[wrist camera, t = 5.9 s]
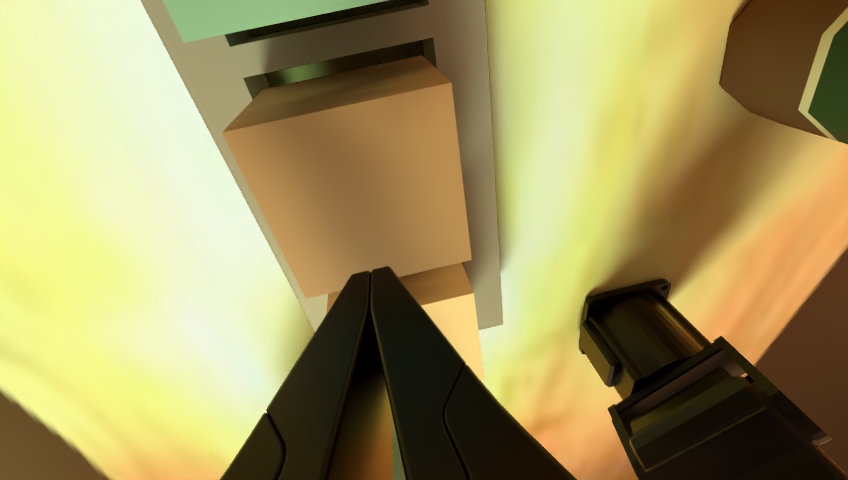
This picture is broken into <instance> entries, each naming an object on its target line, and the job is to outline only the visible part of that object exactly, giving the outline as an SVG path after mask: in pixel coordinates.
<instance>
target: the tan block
mask: <svg viewBox="0 0 848 480" xmlns="http://www.w3.org/2000/svg"><path fill="white" fill-rule="evenodd" d="M222 134H223V136H224V138H225V140H226V142H227V144H228V146H229V148H230V150H231V152H232V154H233V156H234V158H235V160H236V162H237V164H238V166H239V168H240V170H241V172H242V174H243V176H244V178H245V179H246V181H247V183H248V185H249V187H250V189H251V191H252V193H253V195H254V197H255V199H256V201H257V203H258V205H259V207H260V209H261V211H262V213H263V215H264V217H265V219H266V221H267V223H268V225H269V227H270V229H271V231H272V233H273V235H274V237H275V239H276V241H277V243H278V245H279V247H280V249H281V251H282V253H283V255H284V257H285V259H286V261H287V263H288V264H289V266H290V268H291V270H292V272H293V274H294V276H295V278H296V280H297V282H298V284H299V286H300V288H301V290H302V292H303V294H304V296H305V298H306V299H307V298H312V297H316V296H320V295H324V294H329V293H333V292H337V291H341V290H342V289H343V287H344V285H345V284H346V282H347V281H348V279H349V278H350V276H351V275H352V274H354V273H359V272H363V271H370V272H371V271H372V270H373V269H376V268H381V267H385V266H389V267H391V268H392V270H393V271H394V272H395V273H396V275H397V276H398V277H401V276H405V275H410V274H414V273H418V272H422V271H427V270H431V269H435V268H440V267H444V266H448V265H452V264H457V263H461V262H465V261H469V260H472V257H471V248H470V239H469V231H468V222H467V213H466V204H465V196H464V187H463V178H462V170H461V161H460V152H459V143H458V135H457V126H456V117H455V109H454V100H453V91H452V83H451V82H450V81H449V80H448V79H447V78H446V77H445V76H444V75H443V74H442V73H441V72H440V71H438V70H437V69H436V68H435V67H434V66H433V65H432V64H431V63H430V62H429V61H428V60H427V59H426V58H424V57H423V56H422V55H421V56H417V57H412V58H407V59H403V60H398V61H393V62H389V63H384V64H379V65H375V66H370V67H365V68H361V69H356V70H351V71H347V72H342V73H337V74H333V75H328V76H323V77H319V78H314V79H309V80H305V81H300V82H295V83H291V84H286V85H281V86H277V87H272V88H267V89H263V90H262V91H261V92H260V93H259V94H258V95H257V96H256V97H255V98H254V99H253V100H252V101H251V102H250V103H249V104H248V105H247V107H246V108H245V109H244V110H243V111H242V112H241V113H240V114H239V115H238V116H237V117H236V118H235V119H234V120H233V121H232V122H231V123H230V124H229V125H228V126H227V128H226V129H225V130H224V131H223V132H222Z"/></svg>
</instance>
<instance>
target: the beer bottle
mask: <svg viewBox="0 0 848 480" xmlns="http://www.w3.org/2000/svg"><path fill="white" fill-rule="evenodd" d="M719 84H720V86H721V87H722V88H723V89H724V90H725V91H726V92H727V93H729V94H730V95H731V96H732V97H733V98H735V99H736V100H737V101H738V102H739V103H741V104H742V105H743V106H744V107H745V108H747V109H748V110H749V111H750V112H752V113H754V114H757V115H759V116H762V117H765V118H767V119H770V120H772V121H775V122H778V123H780V124H784V125H787V126H790V127H793V128H797V129H800V130H803V131H806V132H810V133H813V134H816V135H819V136H823V137H826V138H829V139H832V140H836V141H839V142H842V143H845V144H848V0H751V1H750V2H749V3H748V5H747V6H746V7H745V8H744V10H743V11H742V12H741V13H740V15H739V16H738V17H737V18H736V20H735V21H734V22H733V23H732V24H731V26H730V28H729V33H728V39H727V44H726V50H725V55H724V61H723V66H722V72H721V77H720V83H719Z"/></svg>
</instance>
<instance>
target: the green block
mask: <svg viewBox="0 0 848 480" xmlns="http://www.w3.org/2000/svg"><path fill="white" fill-rule="evenodd" d="M383 1H388V0H163V2H164V4H165V6H166V8H167V10H168V12H169V14H170V16H171V18H172V20H173V22H174V24H175V26H176V28H177V30H178V32H179V34H180V36H181V38H182V40H183V42H184V43H186V42H191V41H196V40H200V39H205V38H210V37H215V36H220V35H224V34H229V33H234V32H239V31H244V30H248V29H253V28H258V27H263V26H268V25H272V24H277V23H282V22H287V21H292V20H296V19H301V18H306V17H311V16H316V15H320V14H325V13H330V12H335V11H340V10H344V9H349V8H354V7H359V6H364V5H368V4H373V3H378V2H383Z"/></svg>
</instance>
